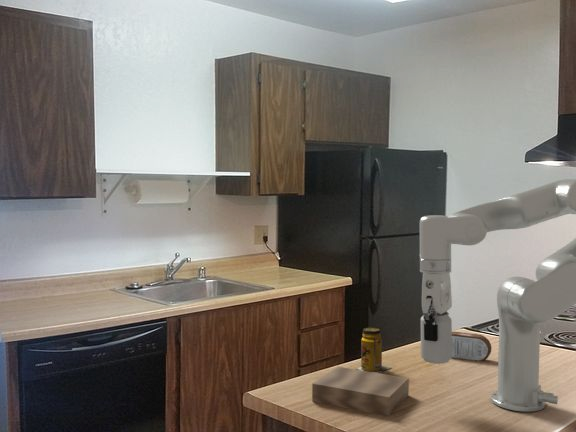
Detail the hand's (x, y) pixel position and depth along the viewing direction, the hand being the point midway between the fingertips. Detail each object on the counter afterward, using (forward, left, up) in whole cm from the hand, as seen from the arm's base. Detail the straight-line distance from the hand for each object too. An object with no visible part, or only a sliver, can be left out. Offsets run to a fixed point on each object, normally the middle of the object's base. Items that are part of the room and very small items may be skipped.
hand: (436, 336), depth 148 cm
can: (0, 0, -6) cm, 6 cm away
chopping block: (+18, +5, -18) cm, 25 cm away
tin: (+4, -44, -18) cm, 47 cm away
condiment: (+25, -20, -18) cm, 36 cm away
